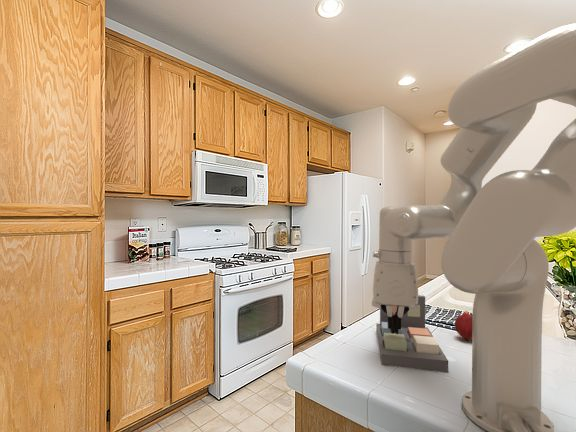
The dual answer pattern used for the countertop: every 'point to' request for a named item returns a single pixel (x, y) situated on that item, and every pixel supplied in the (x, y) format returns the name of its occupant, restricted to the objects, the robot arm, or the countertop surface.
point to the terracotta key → (418, 332)
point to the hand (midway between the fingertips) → (394, 331)
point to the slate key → (385, 328)
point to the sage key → (395, 342)
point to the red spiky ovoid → (464, 325)
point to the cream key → (425, 344)
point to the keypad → (410, 343)
